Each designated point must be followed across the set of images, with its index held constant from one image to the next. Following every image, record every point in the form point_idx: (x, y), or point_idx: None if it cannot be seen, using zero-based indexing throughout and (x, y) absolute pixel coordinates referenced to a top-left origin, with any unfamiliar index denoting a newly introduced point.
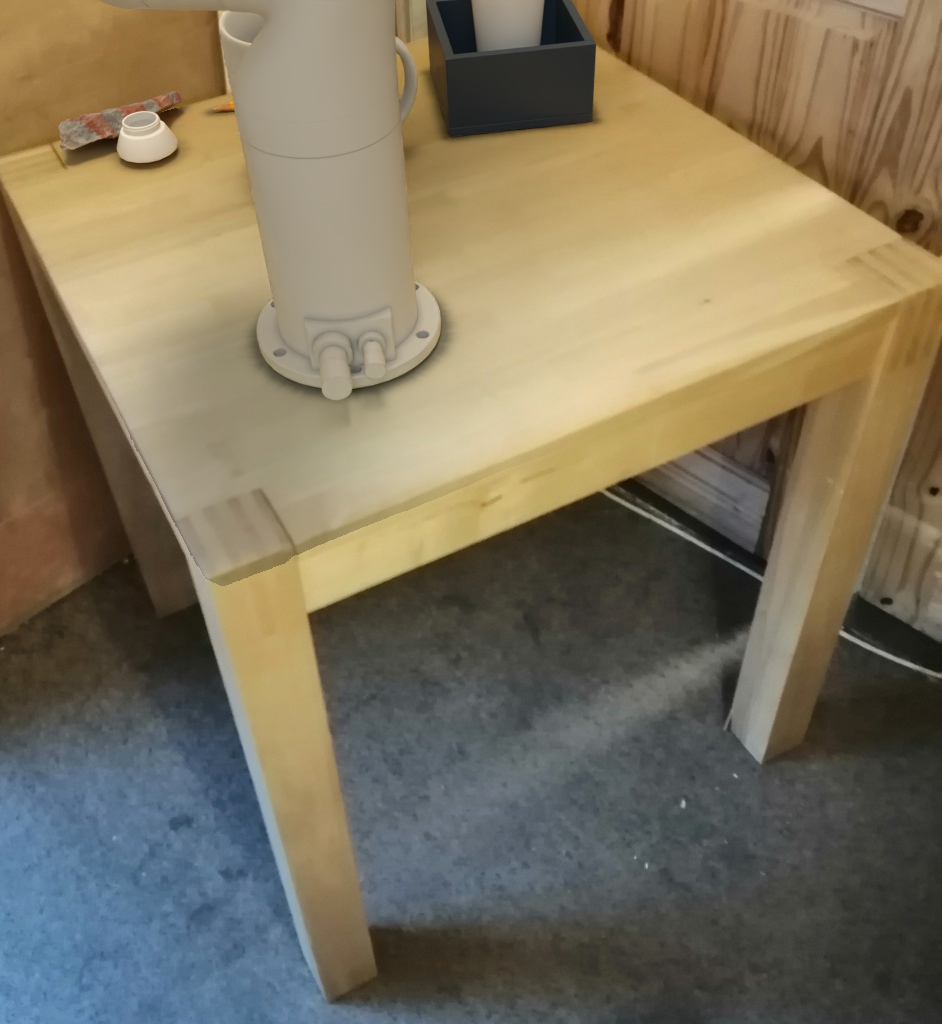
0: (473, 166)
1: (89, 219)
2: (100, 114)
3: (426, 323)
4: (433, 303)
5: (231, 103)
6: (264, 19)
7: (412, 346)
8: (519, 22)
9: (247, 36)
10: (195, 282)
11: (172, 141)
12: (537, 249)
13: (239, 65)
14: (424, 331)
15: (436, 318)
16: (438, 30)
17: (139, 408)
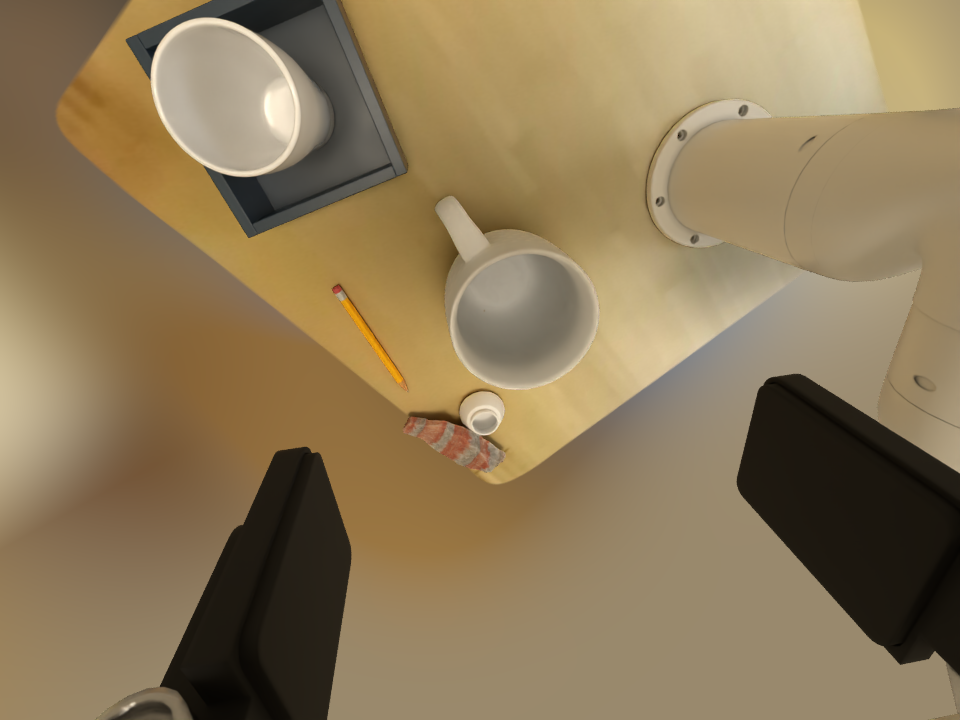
0: (460, 126)
1: (569, 407)
2: (480, 452)
3: (729, 110)
4: (704, 110)
5: (401, 380)
6: (479, 360)
7: (756, 115)
8: (314, 84)
9: (498, 366)
10: (643, 310)
11: (482, 395)
12: (601, 25)
13: (894, 276)
14: (738, 110)
15: (724, 102)
16: (333, 199)
17: (767, 291)
